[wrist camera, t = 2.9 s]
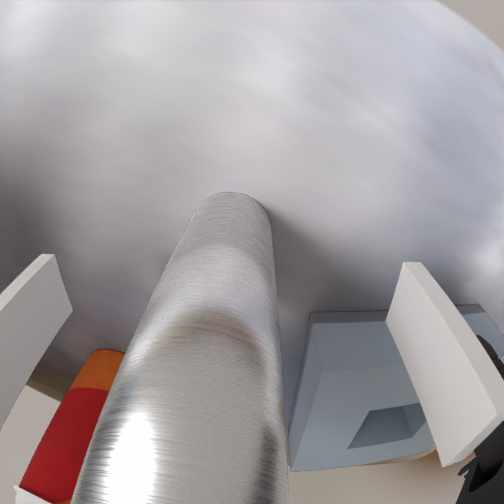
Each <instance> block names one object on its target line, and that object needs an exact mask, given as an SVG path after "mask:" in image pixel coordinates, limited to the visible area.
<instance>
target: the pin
mask: <svg viewBox="0 0 504 504" xmlns="http://www.w3.org/2000/svg"><path fill="white" fill-rule="evenodd" d="M71 504H289V488H288V464H287V443H286V424H285V407H284V390H283V374H282V359H281V345H280V331H279V317H278V304H277V291H276V279H275V267H274V255H273V243H272V232H271V224H270V220H269V217H268V215H267V213H266V211H265V210H264V208H263V207H262V206H261V205H260V204H259V203H258V202H257V201H255V200H254V199H252V198H251V197H249V196H246V195H244V194H241V193H236V192H223V193H218V194H215V195H213V196H211V197H209V198H207V199H206V200H204V201H203V202H202V203H201V204H200V205H199V206H198V207H197V209H196V210H195V212H194V214H193V215H192V217H191V219H190V221H189V223H188V225H187V227H186V229H185V230H184V232H183V234H182V236H181V238H180V240H179V242H178V244H177V246H176V248H175V250H174V252H173V253H172V255H171V257H170V259H169V261H168V263H167V265H166V267H165V269H164V271H163V273H162V275H161V277H160V279H159V281H158V284H157V286H156V288H155V290H154V292H153V294H152V296H151V298H150V300H149V302H148V304H147V306H146V309H145V311H144V313H143V315H142V317H141V319H140V322H139V324H138V326H137V328H136V330H135V333H134V335H133V337H132V339H131V342H130V344H129V346H128V348H127V351H126V353H125V355H124V358H123V360H122V362H121V365H120V367H119V369H118V372H117V374H116V377H115V379H114V381H113V384H112V386H111V389H110V391H109V394H108V396H107V399H106V401H105V404H104V407H103V409H102V412H101V414H100V417H99V420H98V422H97V425H96V428H95V430H94V433H93V436H92V439H91V442H90V444H89V447H88V450H87V453H86V456H85V459H84V462H83V465H82V468H81V471H80V474H79V477H78V480H77V484H76V487H75V490H74V493H73V497H72V500H71Z"/></svg>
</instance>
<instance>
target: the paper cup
mask: <svg viewBox="0 0 504 504" xmlns="http://www.w3.org/2000/svg"><path fill="white" fill-rule="evenodd" d="M124 355H125V354H124V353H122V352H119V351H116V350H111V349H100V350H97V351H95V352H93V353H92V354H91V355H90V357H89V358H88V359H87V361H86V362H85V364H84V365H83V367H82V369H81V370H80V372H79V373H78V375H77V377H76V378H75V380H74V382H73V383H72V385H71V387H70V388H69V390H68V392H67V393H66V395H65V397H64V399H63V400H62V402H61V404H60V406H59V407H58V409H57V411H56V413H55V415H54V417H53V419H52V420H51V422H50V424H49V426H48V428H47V430H46V431H45V433H44V436H43V437H42V439H41V442H40V443H39V445H38V447H37V449H36V451H35V453H34V455H33V457H32V459H31V462H30V464H29V466H28V468H27V470H26V472H25V474H24V476H23V478H22V481H21V483H20V485H19V487H17V486H15V485H14V490H15V491H17V493H16V499H15V504H71V500H72V497H73V493H74V490H75V487H76V484H77V480H78V477H79V474H80V471H81V468H82V465H83V462H84V459H85V456H86V453H87V450H88V447H89V444H90V442H91V439H92V436H93V433H94V430H95V428H96V425H97V422H98V420H99V417H100V414H101V412H102V409H103V407H104V404H105V401H106V399H107V396H108V394H109V391H110V389H111V386H112V384H113V381H114V379H115V377H116V374H117V372H118V369H119V367H120V365H121V362H122V360H123V358H124Z"/></svg>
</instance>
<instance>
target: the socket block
mask: <svg viewBox="0 0 504 504" xmlns="http://www.w3.org/2000/svg"><path fill="white" fill-rule="evenodd" d="M455 307H456V308H457V310H458V311H459V312H460V314H461V315H462V317H463V318H464V319H465V321H466V322H467V324H468V325H469V327H470V328H471V330H472V331H473V332H474V334H475V335H480V336H481V337H483V338H484V339H485V340H486V341H487V342H488V343H489V344H491V346H492V347H493V349H494V350H495V352H496V353H497V355H498V359H501V357H502V356H503V354H504V336H503V335H502V333H501V332H500V331H499V329H498V328H497V327H496V325H495V324H494V323H493V321H492V320H491V319H490V317H489V316H488V315H487V313H486V312H485V311H484V310H483V308H482V307H481V306H480V305H479V304H472V305H461V306H455ZM388 312H389V310H384V311H356V312H310V318H309V324H308V330H307V336H306V342H305V348H304V353H303V359H302V364H301V370H300V375H299V380H298V385H297V390H296V395H295V400H294V404H293V409H292V414H291V418H290V423H289V427H288V437H289V455H290V471H291V472H298V471H311V470H325V469H334V468H342V467H350V466H357V465H363V464H369V463H375V462H380V461H385V460H390V459H395V458H399V457H404V456H408V455H412V454H416V453H420V452H423V451H427V450H428V449H429V448H430V447H431V446H432V445H433V444H434V443H435V442H434V439H433V436H432V434H431V431H430V428H429V425H428V422H427V420H426V417H425V414H424V412H423V409H422V406H421V404H420V401H419V398H418V396H417V393H416V391H415V388H414V386H413V383H412V381H411V378H410V376H409V374H408V371H407V369H406V366H405V364H404V362H403V359H402V357H401V355H400V353H399V350H398V348H397V346H396V343H395V341H394V339H393V337H392V335H391V332H390V330H389V328H388V326H387V324H386V322H385V321H386V318H387V315H388Z"/></svg>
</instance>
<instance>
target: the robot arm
mask: <svg viewBox="0 0 504 504" xmlns="http://www.w3.org/2000/svg"><path fill="white" fill-rule="evenodd" d="M72 311H73V309H72V306H71V303H70V301H69V298H68V295H67V292H66V289H65V286H64V283H63V280H62V277H61V274H60V271H59V267H58V264H57V261H56V257H55V254H41V255H40V256H39V257H37V258H36V259H35V260H34V261H33V262H32V263H31V264H30V265H29V266H28V267H27V268H26V269H25V270H24V271H23V272H22V273H21V274H20V275H19V276H18V277H17V278H16V279H15V280H14V281H13V282H12V283H11V284H10V285H9V286H8V287H7V288H6V289H5V290H4V291H3V292H2V293H1V294H0V431H1V429H2V427H3V425H4V423H5V421H6V419H7V417H8V415H9V413H10V411H11V409H12V407H13V406H14V404H15V402H16V400H17V398H18V396H19V395H20V393H21V391H22V389H23V387H24V386H25V384H26V382H27V381H28V379H29V377H30V376H31V374H32V372H33V371H34V369H35V367H36V366H37V364H38V362H39V361H40V359H41V358H42V356H43V354H44V353H45V351H46V350H47V348H48V347H49V345H50V343H51V342H52V340H53V339H54V337H55V336H56V334H57V333H58V331H59V330H60V328H61V327H62V325H63V324H64V322H65V321H66V320H67V318H68V317H69V315H70V314H71V312H72ZM385 322H386V324H387V326H388V328H389V330H390V332H391V335H392V337H393V339H394V341H395V343H396V346H397V348H398V350H399V353H400V355H401V357H402V359H403V362H404V364H405V366H406V369H407V371H408V374H409V376H410V378H411V381H412V383H413V386H414V388H415V391H416V393H417V396H418V398H419V401H420V404H421V406H422V409H423V412H424V414H425V417H426V420H427V422H428V425H429V428H430V431H431V434H432V436H433V439H434V442H435V445H436V448H437V451H438V454H439V457H440V460H441V464H442V467H445V466H448V465H451V464H454V463H456V462H459V461H461V460H463V459H464V458H466V457H467V456H468V455H469V454H470V453H471V452H472V451H473V450H474V452H475V455H476V457H475V458H474V459H473V460H472V461H470V462H469V463H468V464H467V465H466V466H464V467H463V468H462V469H461V470H460V472H459V473H458V475H459V476H461V475H462V474H463V473H465V472H466V471H467V470H468V469H469V471H468V473H467V474H466V475H465V476H464V477H465V478H466V479H465V482H464V484H463V487H462V489H461V492H460V494H459V497H458V499H457V502H456V504H504V364H503V363H502V361H501V360H500V359H498V355H497V353H496V352H495V350H494V349H493V347H492V346H491V344H489V343H488V342H487V341H486V340H485V339H484V338H483V337H481V336H480V335H475V334H474V332H473V331H472V330H471V328H470V327H469V325H468V324H467V322H466V321H465V319H464V318H463V317H462V315H461V314H460V312H459V311H458V310H457V308H456V307H455V306H454V304H453V303H452V302H451V300H450V299H449V297H448V296H447V295H446V294H445V292H444V291H443V290H442V288H441V287H440V286H439V284H438V283H437V282H436V281H435V279H434V278H433V277H432V276H431V274H430V273H429V272H428V271H427V269H426V268H425V267H424V266H423V264H422V263H421V262H403V265H402V268H401V272H400V276H399V279H398V283H397V286H396V290H395V293H394V296H393V299H392V303H391V306H390V309H389V312H388V315H387V318H386V321H385Z"/></svg>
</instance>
